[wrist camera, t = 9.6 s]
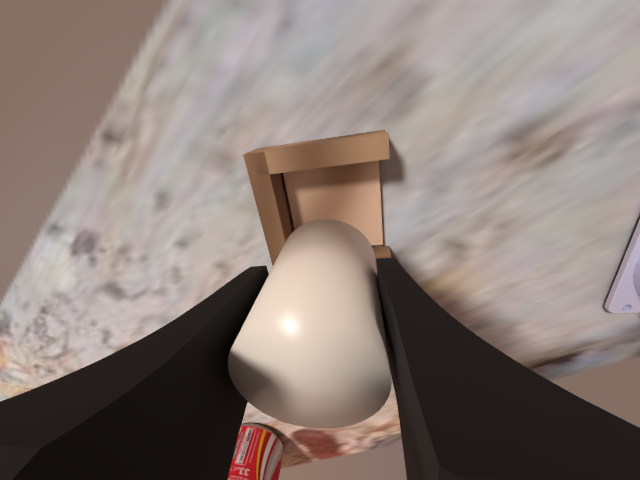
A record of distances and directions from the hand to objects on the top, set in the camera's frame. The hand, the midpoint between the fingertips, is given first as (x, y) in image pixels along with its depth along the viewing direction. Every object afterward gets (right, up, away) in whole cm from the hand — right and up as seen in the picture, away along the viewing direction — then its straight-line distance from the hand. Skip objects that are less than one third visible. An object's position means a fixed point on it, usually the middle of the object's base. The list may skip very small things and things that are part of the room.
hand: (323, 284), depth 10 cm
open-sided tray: (+1, 0, +9) cm, 9 cm away
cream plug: (0, +1, +1) cm, 2 cm away
